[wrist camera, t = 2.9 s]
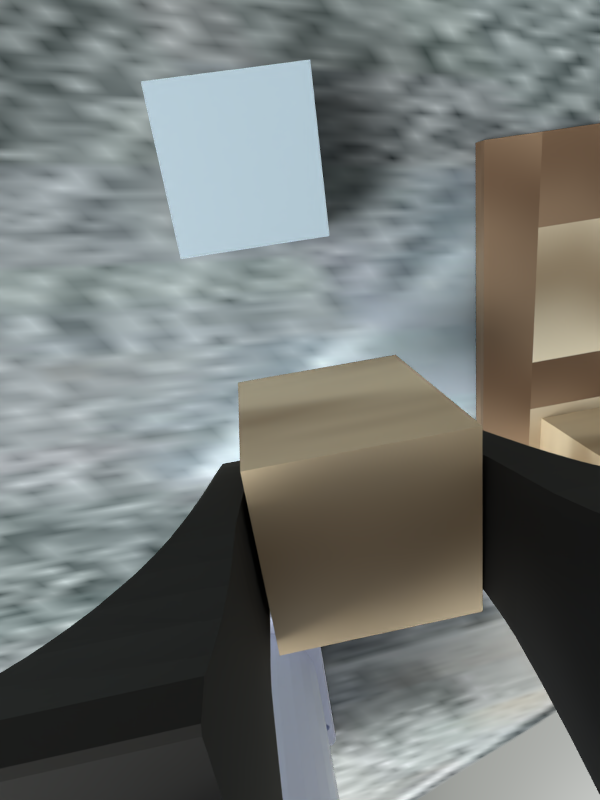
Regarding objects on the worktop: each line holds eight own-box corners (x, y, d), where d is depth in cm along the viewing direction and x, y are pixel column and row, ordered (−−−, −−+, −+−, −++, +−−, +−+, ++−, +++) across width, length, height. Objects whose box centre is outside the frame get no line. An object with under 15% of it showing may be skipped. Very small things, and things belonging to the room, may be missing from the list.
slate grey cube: (308, 232, 16) (329, 235, 13) (193, 249, 16) (180, 258, 12) (291, 98, 15) (309, 59, 11) (164, 116, 15) (140, 81, 11)
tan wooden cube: (405, 489, 13) (482, 611, 9) (264, 517, 13) (279, 655, 9) (395, 354, 12) (482, 425, 8) (238, 382, 12) (240, 471, 7)
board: (652, 528, 23) (662, 536, 23) (476, 564, 23) (482, 573, 22) (721, 107, 17) (738, 103, 16) (475, 143, 16) (484, 140, 15)
